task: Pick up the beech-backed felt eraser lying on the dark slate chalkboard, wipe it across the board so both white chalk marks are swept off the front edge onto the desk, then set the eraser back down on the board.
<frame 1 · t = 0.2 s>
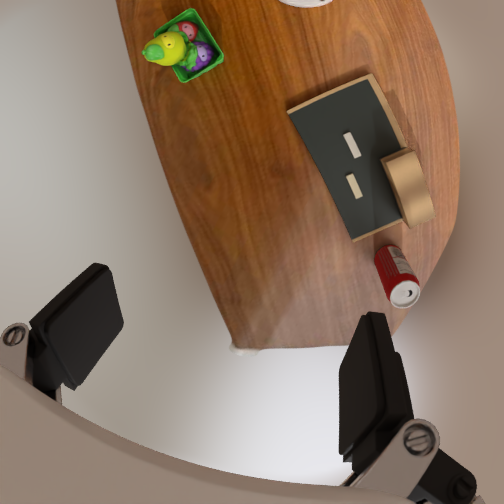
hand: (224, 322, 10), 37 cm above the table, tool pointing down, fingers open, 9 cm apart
chalk mark b: (354, 185, 41), point 1 cm above the table, touching chalkboard
soda can: (387, 256, 46), on the table
eraser: (404, 183, 39), point 1 cm above the table, touching chalkboard
chalk mark a: (352, 145, 38), point 1 cm above the table, touching chalkboard
fruit basket: (196, 51, 36), on the table
chalkboard: (364, 159, 39), on the table
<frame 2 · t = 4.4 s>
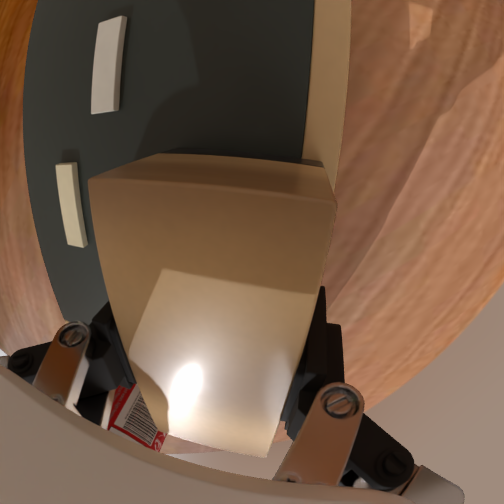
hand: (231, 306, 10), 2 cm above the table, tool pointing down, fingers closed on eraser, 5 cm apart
chalk mark b: (73, 204, 11), point 1 cm above the table, touching chalkboard
soda can: (148, 388, 19), on the table
eraser: (236, 292, 11), point 1 cm above the table, touching chalkboard, gripper
chalk mark a: (110, 64, 8), point 1 cm above the table, touching chalkboard
chalkboard: (141, 132, 10), on the table
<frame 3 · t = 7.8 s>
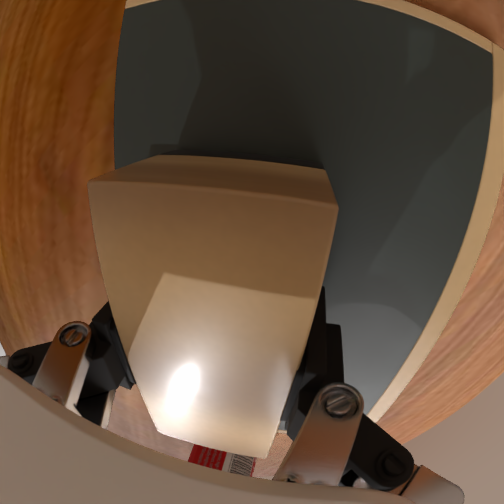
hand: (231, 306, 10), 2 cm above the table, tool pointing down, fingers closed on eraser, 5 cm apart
soda can: (228, 439, 21), on the table
eraser: (236, 294, 11), point 1 cm above the table, touching gripper
chalkboard: (293, 286, 12), on the table
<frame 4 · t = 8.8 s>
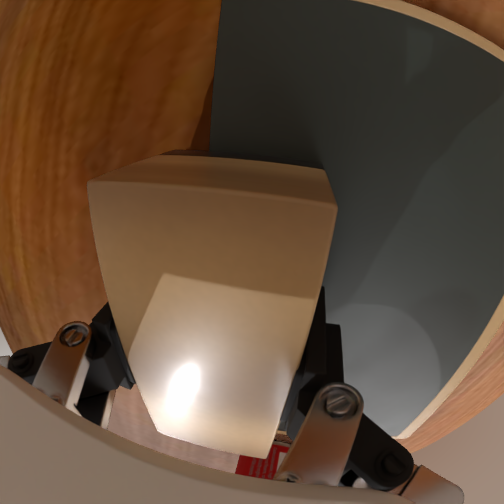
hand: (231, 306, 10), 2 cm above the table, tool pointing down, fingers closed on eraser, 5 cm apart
soda can: (273, 448, 20), on the table
eraser: (236, 294, 11), point 1 cm above the table, touching gripper
chalkboard: (381, 301, 11), on the table
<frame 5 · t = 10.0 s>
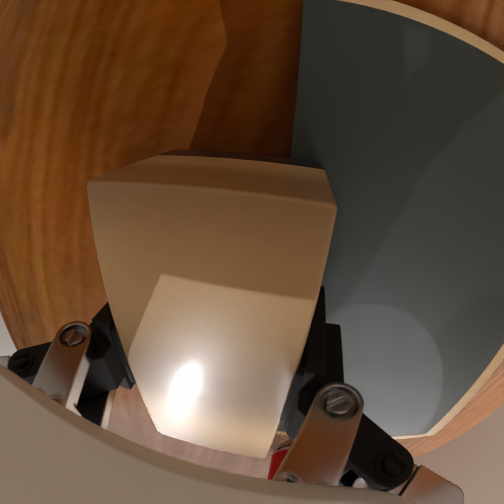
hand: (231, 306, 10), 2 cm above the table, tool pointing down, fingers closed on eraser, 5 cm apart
soda can: (303, 452, 20), on the table
eraser: (236, 294, 11), point 1 cm above the table, touching gripper
chalkboard: (429, 307, 11), on the table
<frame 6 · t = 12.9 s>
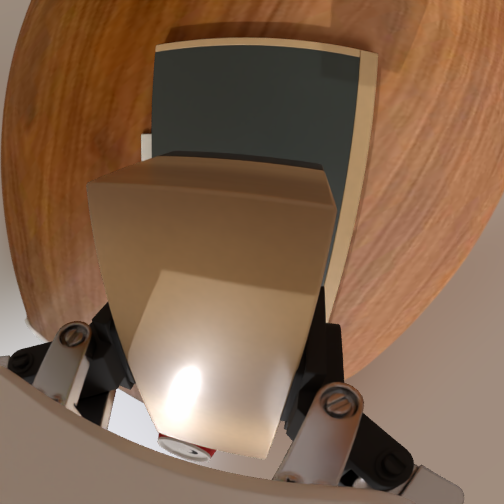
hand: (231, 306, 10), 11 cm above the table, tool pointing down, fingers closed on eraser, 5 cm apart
soda can: (218, 358, 29), on the table
eraser: (236, 295, 11), point 10 cm above the table, touching gripper
chalk mark a: (150, 158, 20), on the table
chalkboard: (250, 204, 20), on the table
when the fingers open (2 cm above the table, at t = 15.4 s): eraser stays where it is, resting on chalkboard.
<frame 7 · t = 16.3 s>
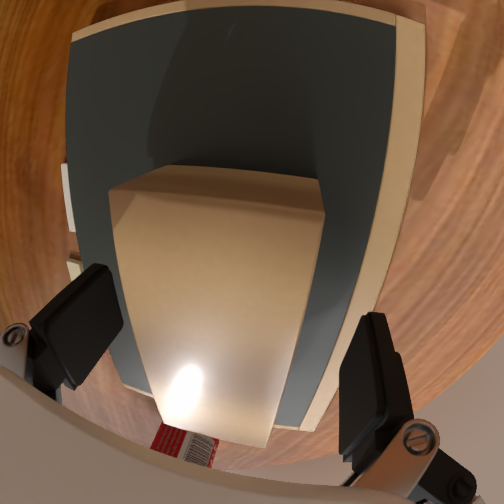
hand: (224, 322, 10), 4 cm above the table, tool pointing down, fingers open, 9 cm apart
chalk mark b: (78, 289, 15), on the table, tilted 180°
soda can: (192, 427, 22), on the table
eraser: (238, 292, 12), point 1 cm above the table, touching chalkboard
chalk mark a: (75, 196, 13), on the table
chalkboard: (212, 270, 13), on the table
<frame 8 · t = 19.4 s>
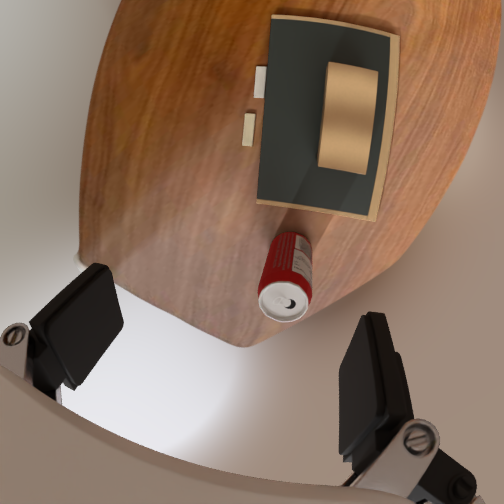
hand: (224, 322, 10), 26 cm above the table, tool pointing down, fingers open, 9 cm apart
chalk mark b: (248, 129, 31), on the table, tilted 180°
soda can: (291, 248, 37), on the table
eraser: (343, 117, 27), point 1 cm above the table, touching chalkboard
chalk mark a: (260, 82, 28), on the table
chalkboard: (330, 113, 28), on the table
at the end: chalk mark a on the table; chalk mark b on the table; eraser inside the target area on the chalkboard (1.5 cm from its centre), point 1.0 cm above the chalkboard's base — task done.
